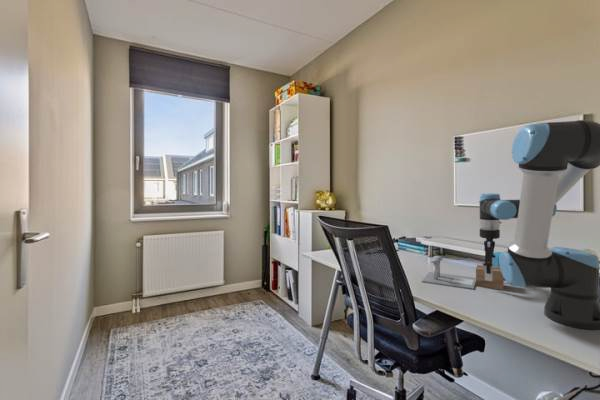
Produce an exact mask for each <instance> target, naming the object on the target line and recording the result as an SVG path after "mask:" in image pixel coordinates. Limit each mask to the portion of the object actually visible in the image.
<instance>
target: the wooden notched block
mask: <svg viewBox="0 0 600 400" xmlns="http://www.w3.org/2000/svg"><path fill="white" fill-rule="evenodd" d="M475 278H476V284H475V287H480V288H488V289H492V290H493V289H494V290H501V291H504V286H505V285H504V280H505V279H504V277H503V275H502V272H501V269H500V267H494V266H492V281H487V280H485V266H484V265H483V264H477V265H476V268H475Z"/></svg>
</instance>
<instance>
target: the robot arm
mask: <svg viewBox="0 0 600 400" xmlns="http://www.w3.org/2000/svg"><path fill="white" fill-rule="evenodd" d="M511 154H512V155H511V156H512V157H511V158H512V159H513V161H514V162H515V163H516V164H518V169H519V170H520V171H521V172H522V173H523V176H522V182H521V189H520V190H521V191H520V197H519V199H501V196H500V194H499V193H491V192H490V193H481V194H480V195H479V201H478V202H479V220H478V221H479V237H480V238H482V239H486V240H484V242H483V245H484V248H483V249H484V252H485V253H484V263H482V265H484V266H485V280H487V281H492V266H494V258H495V255H494V253H495V252H494V251H495V246H496V241H494V239H495V240H496V239H500V236H501V230H500V227H501V225H500V224H502V221H504V220H505V221H507V220H510V219H511V220H512V219H517V221H516V227H515V228H516V229H515V235H514V241H512V242H510V243H509V244H508V246H507V251H506V250H505V251H500V252H501V254H500V255H499V265H500V269H501V272H502V275H503V277H504V280H505V282H506V283H507V284H508V285H510V286H512V287H517V288H518V287H520V288H541V289H542V288H548V289H549V288H550V294H549V295H548V297H547V299H546V303H545V305H544V307H543V308H544V309H543V310H544V311H543V313H544V316H545V317H547V318H548V319H550V320H551V321H553V322H556V323H558V324H561V325H565V326H568V327H572V328H575V329H576V328H577V329H582V330H583V329H584V330H600V299H599V292H600V290H599V289H600V288H599V287H600V284H599V283H600V280H599V279H600V261H599V257H598V256H597V255H596V254H594V253H592V252H589V251H585V250H580V249H575V248H569V247H563V246H552V247H551V248H550V247H549V246H548V245H549V244H548V243H549V237H550V231H551V224H552V221H553V220H552V219H553V217H555V215H556V212H557V211H558V209H557V208H558V206H557V203H558V202H559V201H560V200H561V199H562V198H563V197H564V196H565V195H566V194H567V193H569V191H570V190H571V189H572V188H573V187H574V186H576V184H577V183H578V182H579V181H580V180H581V179H582V178H583V177H585V175H586V174H587V173H588V172H589V171H591V170H595V169H597V168H599V166H600V123H599V122H596V121H593V120H589V119H588V120H587V119H578V120H572V121H571V120H569V121H553V122H552V121H551V122H539V123H538V122H537V123H530V124H527V125H525V126H523V127H522V128H521V129H520V130H519V131H518V132H517V134H516V135H515V137H514V139H513V143H512V146H511ZM500 220H502V221H500ZM492 257H493V258H492Z"/></svg>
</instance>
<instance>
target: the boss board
mask: <svg viewBox="0 0 600 400" xmlns="http://www.w3.org/2000/svg"><path fill="white" fill-rule="evenodd" d="M441 261H443V256H439V255H434V256H433V258H431V259H430V262H431V263H432V264H433V271H429V272H428V273H427V274H426V275H425V276H424V278H423V279H422V281H421V282H422V283H426V284H432V285H439V286H447V287H452V288H460V289H467V290H468V289H469V290H474V289H475V287H476V277H471V276H463V275H457V274H456V275H455V274H449V273H448V274H447V273H441Z"/></svg>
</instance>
